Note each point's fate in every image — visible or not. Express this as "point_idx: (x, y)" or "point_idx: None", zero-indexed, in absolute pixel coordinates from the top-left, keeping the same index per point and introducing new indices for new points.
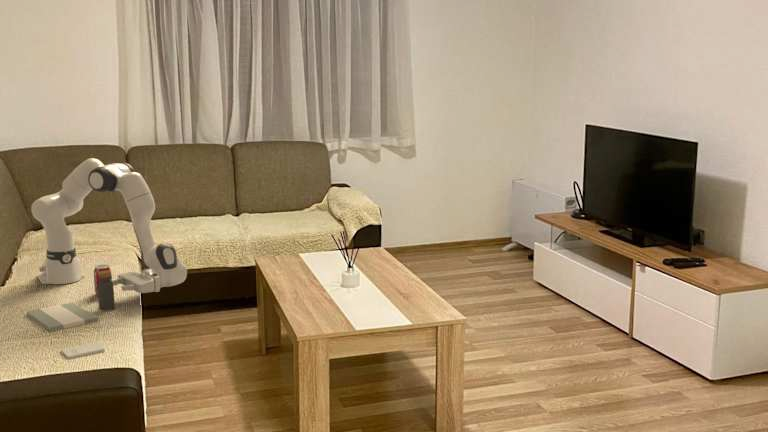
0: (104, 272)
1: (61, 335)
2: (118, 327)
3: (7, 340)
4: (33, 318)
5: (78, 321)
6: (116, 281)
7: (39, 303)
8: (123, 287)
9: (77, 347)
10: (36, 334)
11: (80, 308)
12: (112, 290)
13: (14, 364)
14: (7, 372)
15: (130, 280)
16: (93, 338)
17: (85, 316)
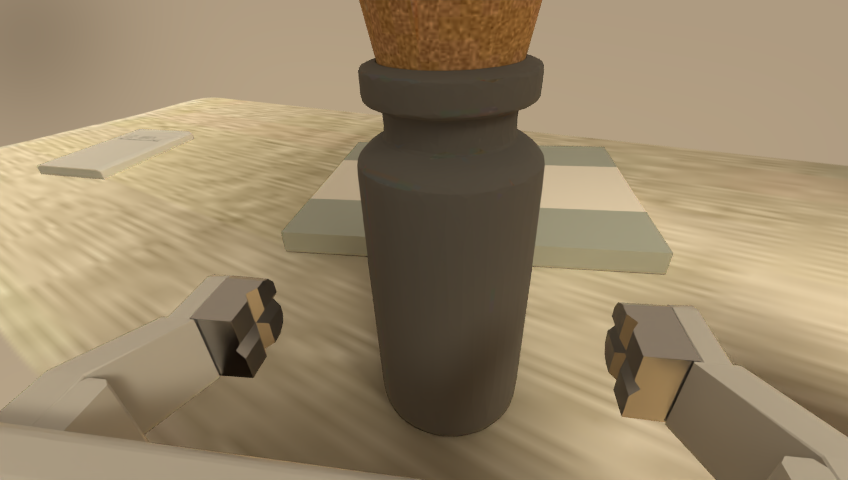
0: None
1: (294, 160)
2: (98, 265)
3: None
4: None
5: (321, 186)
6: (635, 355)
7: (795, 212)
8: (218, 280)
9: (146, 144)
10: None
11: None
12: (370, 253)
13: (250, 106)
14: (232, 99)
15: (248, 466)
16: (153, 187)
17: (349, 212)
